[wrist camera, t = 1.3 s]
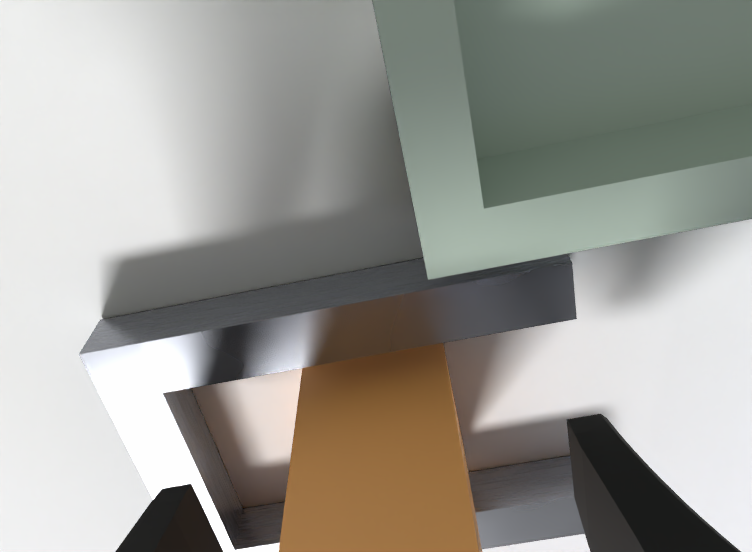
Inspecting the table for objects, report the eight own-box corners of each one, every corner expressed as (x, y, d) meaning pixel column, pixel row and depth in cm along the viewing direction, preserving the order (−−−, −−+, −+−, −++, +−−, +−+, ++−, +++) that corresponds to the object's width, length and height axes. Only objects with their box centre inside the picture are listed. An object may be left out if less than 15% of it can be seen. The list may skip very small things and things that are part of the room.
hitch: (555, 232, 13) (572, 262, 12) (579, 491, 17) (594, 531, 15) (100, 319, 14) (78, 354, 13) (211, 549, 17) (200, 591, 16)
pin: (442, 339, 14) (481, 565, 10) (463, 445, 16) (505, 687, 11) (302, 364, 15) (272, 596, 10) (336, 466, 16) (323, 711, 11)
